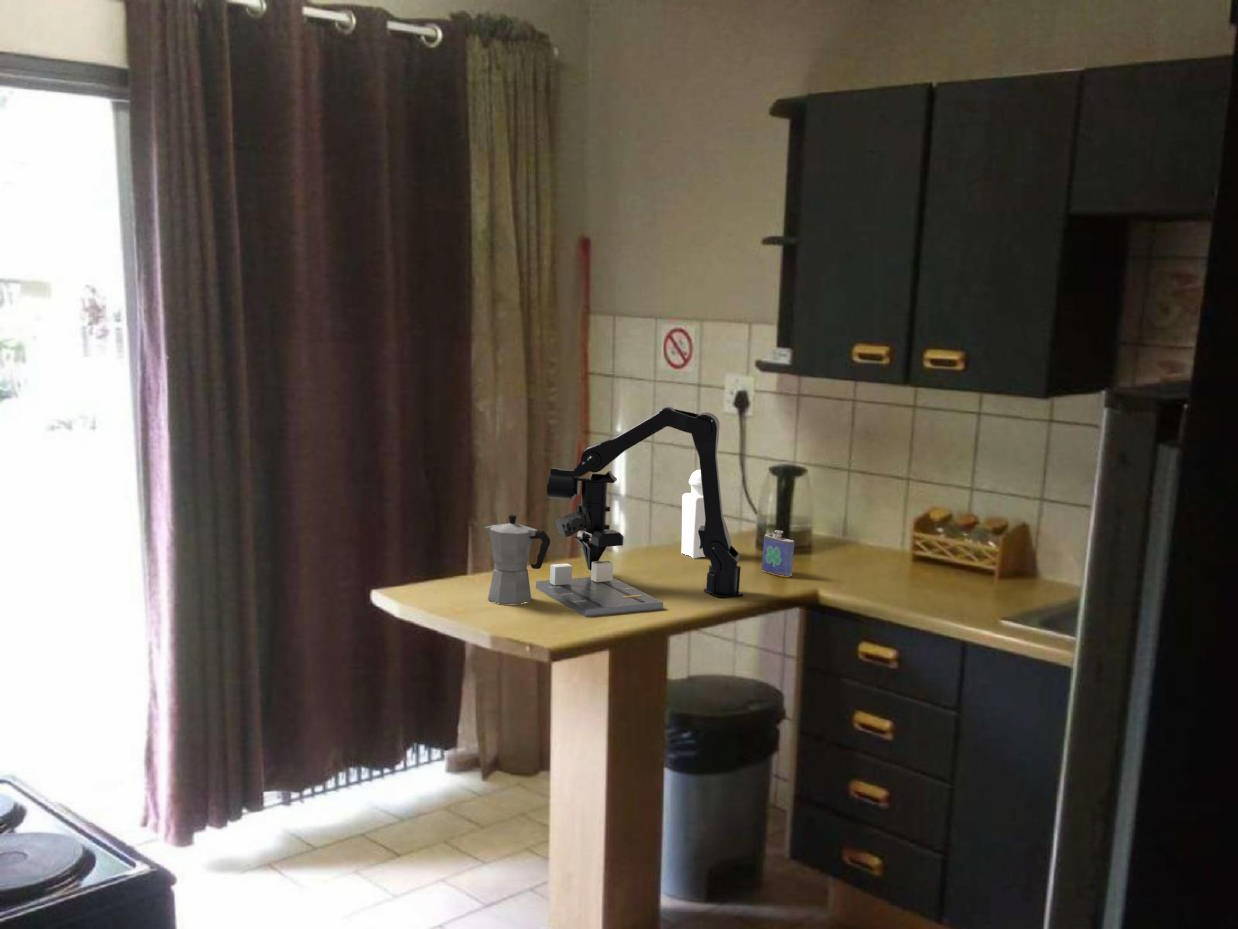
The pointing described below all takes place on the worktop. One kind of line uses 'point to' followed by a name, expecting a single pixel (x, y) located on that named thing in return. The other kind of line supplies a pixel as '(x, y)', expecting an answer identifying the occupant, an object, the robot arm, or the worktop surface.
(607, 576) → the block
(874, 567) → the worktop surface
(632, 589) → the panel
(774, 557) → the flask
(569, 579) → the block white
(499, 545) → the coffeepot
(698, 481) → the white square decanter
